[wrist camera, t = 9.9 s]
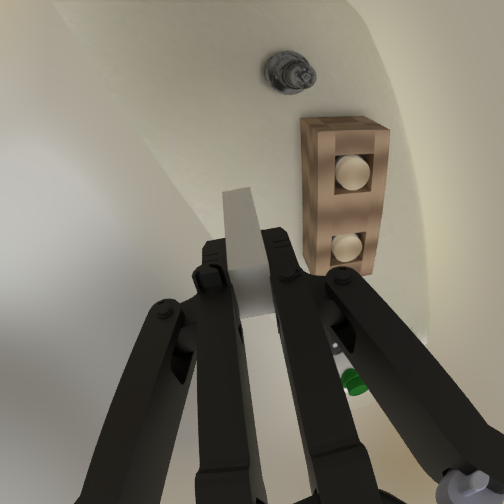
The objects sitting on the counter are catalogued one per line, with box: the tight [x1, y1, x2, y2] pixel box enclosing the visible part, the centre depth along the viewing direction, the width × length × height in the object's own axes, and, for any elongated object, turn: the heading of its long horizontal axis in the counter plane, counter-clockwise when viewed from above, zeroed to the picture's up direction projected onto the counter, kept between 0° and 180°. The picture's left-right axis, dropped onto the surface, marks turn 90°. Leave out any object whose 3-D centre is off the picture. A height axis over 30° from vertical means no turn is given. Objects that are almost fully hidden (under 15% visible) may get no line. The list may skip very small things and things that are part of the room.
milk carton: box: [333, 353, 368, 396], centre depth 58 cm, size 9×9×20 cm
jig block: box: [300, 116, 390, 276], centre depth 45 cm, size 24×10×8 cm, turn 5°
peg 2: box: [331, 233, 362, 262], centre depth 48 cm, size 5×5×8 cm
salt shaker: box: [264, 51, 316, 95], centre depth 32 cm, size 6×6×12 cm
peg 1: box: [335, 154, 370, 190], centre depth 41 cm, size 5×5×8 cm
